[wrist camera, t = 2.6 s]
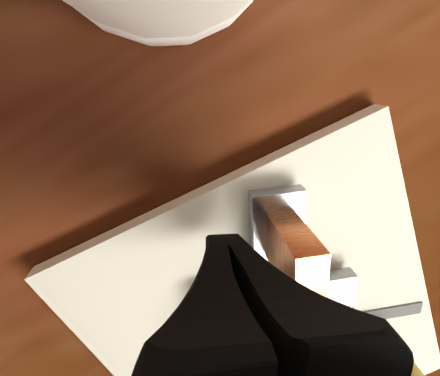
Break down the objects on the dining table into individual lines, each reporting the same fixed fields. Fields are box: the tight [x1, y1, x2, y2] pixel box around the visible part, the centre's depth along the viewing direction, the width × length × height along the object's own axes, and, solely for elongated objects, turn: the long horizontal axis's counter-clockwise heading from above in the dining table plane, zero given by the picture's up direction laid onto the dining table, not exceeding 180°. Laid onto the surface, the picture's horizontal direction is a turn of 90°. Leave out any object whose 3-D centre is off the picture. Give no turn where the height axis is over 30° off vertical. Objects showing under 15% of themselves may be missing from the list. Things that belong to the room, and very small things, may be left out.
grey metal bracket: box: [248, 184, 358, 309], centre depth 14 cm, size 13×8×4 cm, turn 4°
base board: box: [24, 104, 440, 376], centre depth 16 cm, size 19×18×5 cm
